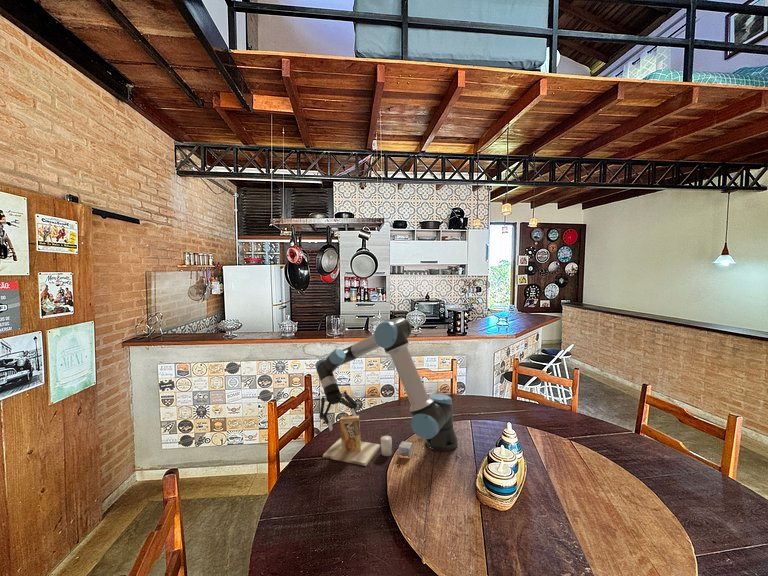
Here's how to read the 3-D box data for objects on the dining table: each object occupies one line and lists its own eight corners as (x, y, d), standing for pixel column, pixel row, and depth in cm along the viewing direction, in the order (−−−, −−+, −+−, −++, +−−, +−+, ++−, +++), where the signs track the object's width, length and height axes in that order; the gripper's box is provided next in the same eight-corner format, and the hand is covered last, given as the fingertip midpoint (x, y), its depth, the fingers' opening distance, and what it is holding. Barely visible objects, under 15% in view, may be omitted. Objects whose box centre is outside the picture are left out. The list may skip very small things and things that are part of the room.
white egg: (393, 451, 151) (393, 436, 151) (389, 457, 146) (389, 441, 146) (384, 449, 153) (383, 435, 153) (379, 455, 148) (379, 440, 148)
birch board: (380, 447, 155) (380, 444, 155) (365, 465, 140) (365, 463, 140) (340, 440, 164) (340, 437, 164) (322, 457, 149) (322, 454, 149)
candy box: (361, 446, 154) (359, 414, 154) (361, 451, 150) (359, 418, 149) (342, 448, 154) (340, 416, 153) (341, 453, 150) (339, 420, 149)
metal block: (413, 453, 148) (412, 442, 148) (409, 459, 144) (409, 448, 144) (402, 451, 150) (402, 441, 150) (399, 457, 146) (398, 446, 145)
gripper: (349, 385, 178) (364, 421, 166) (305, 396, 165) (318, 436, 153) (353, 377, 173) (369, 415, 161) (308, 388, 160) (321, 430, 148)
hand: (344, 425), depth 157 cm, fingers open, 13 cm apart
